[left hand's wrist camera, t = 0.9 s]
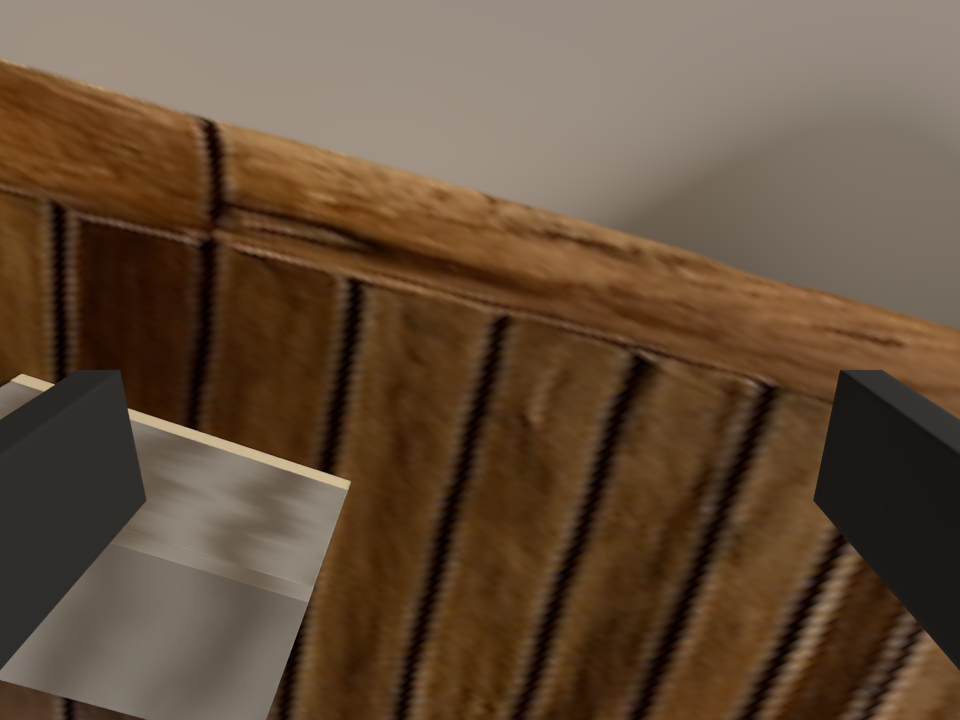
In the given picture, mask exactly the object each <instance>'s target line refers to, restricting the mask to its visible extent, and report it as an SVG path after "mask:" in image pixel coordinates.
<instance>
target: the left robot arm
mask: <svg viewBox="0 0 960 720" xmlns="http://www.w3.org/2000/svg"><path fill="white" fill-rule="evenodd" d="M146 501H147V500H146V495H145V490H144V485H143V480H142V476H141V471H140V466H139V461H138V456H137V451H136V446H135V441H134V437H133V432H132V427H131V422H130V417H129V412H128V407H127V403H126V398H125V393H124V388H123V383H122V378H121V373H120V370H77V371H76V372H74V373H72V374H71V375H69V376H68V377H66V378H65V379H63V380H61V381H60V382H58V383H57V384H55V385H54V386H52V387H51V388H49V389H47V390H46V391H44V392H43V393H41V394H40V395H38V396H36V397H35V398H33V399H32V400H30V401H29V402H27V403H25V404H24V405H22V406H21V407H19V408H18V409H16V410H14V411H13V412H11V413H10V414H8V415H7V416H5V417H4V418H2V419H0V670H1V669H2V668H3V667H4V666H5V664H6V663H7V662H8V661H9V660H10V659H11V657H12V656H13V655H14V654H15V653H16V652H17V650H18V649H19V648H20V647H21V646H22V645H23V644H24V642H25V641H26V640H27V639H28V638H29V637H30V635H31V634H32V633H33V632H34V631H35V630H36V628H37V627H38V626H39V625H40V624H41V623H42V621H43V620H44V619H45V618H46V617H47V616H48V614H49V613H50V612H51V611H52V610H53V609H54V608H55V606H56V605H57V604H58V603H59V602H60V601H61V599H62V598H63V597H64V596H65V595H66V594H67V592H68V591H69V590H70V589H71V588H72V587H73V585H74V584H75V583H76V582H77V581H78V580H79V578H80V577H81V576H82V575H83V574H84V573H85V572H86V570H87V569H88V568H89V567H90V566H91V565H92V563H93V562H94V561H95V560H96V559H97V558H98V556H99V555H100V554H101V553H102V552H103V551H104V549H105V548H106V547H107V546H108V545H109V544H110V542H111V541H112V540H113V539H114V538H115V537H116V536H117V534H118V533H119V532H120V531H121V530H122V529H123V527H124V526H125V525H126V524H127V523H128V522H129V520H130V519H131V518H132V517H133V516H134V515H135V513H136V512H137V511H138V510H139V509H140V508H141V506H142V505H143V504H144V503H145V502H146ZM813 501H814V502H815V503H816V504H817V505H818V506H819V508H820V509H821V510H822V511H823V512H824V513H825V515H826V516H827V517H828V518H829V519H830V520H831V522H832V523H833V524H834V525H835V526H836V527H837V529H838V530H839V531H840V532H841V533H842V534H843V536H844V537H845V538H846V539H847V540H848V541H849V542H850V544H851V545H852V546H853V547H854V548H855V549H856V551H857V552H858V553H859V554H860V555H861V556H862V558H863V559H864V560H865V561H866V562H867V563H868V565H869V566H870V567H871V568H872V569H873V570H874V572H875V573H876V574H877V575H878V576H879V577H880V578H881V580H882V581H883V582H884V583H885V584H886V585H887V587H888V588H889V589H890V590H891V591H892V592H893V594H894V595H895V596H896V597H897V598H898V599H899V601H900V602H901V603H902V604H903V605H904V606H905V608H906V609H907V610H908V611H909V612H910V613H911V614H912V616H913V617H914V618H915V619H916V620H917V621H918V623H919V624H920V625H921V626H922V627H923V628H924V630H925V631H926V632H927V633H928V634H929V635H930V637H931V638H932V639H933V640H934V641H935V642H936V644H937V645H938V646H939V647H940V648H941V649H942V650H943V652H944V653H945V654H946V655H947V656H948V657H949V659H950V660H951V661H952V662H953V663H954V664H955V666H956V667H957V668H958V669H959V670H960V419H958V418H956V417H955V416H953V415H952V414H950V413H949V412H947V411H946V410H944V409H942V408H941V407H939V406H938V405H936V404H935V403H933V402H931V401H930V400H928V399H927V398H925V397H924V396H922V395H920V394H919V393H917V392H916V391H914V390H913V389H911V388H909V387H908V386H906V385H905V384H903V383H902V382H900V381H899V380H897V379H895V378H894V377H892V376H891V375H889V374H888V373H886V372H884V371H883V370H840V373H839V378H838V383H837V388H836V393H835V398H834V403H833V407H832V412H831V417H830V422H829V427H828V432H827V437H826V441H825V446H824V451H823V456H822V461H821V466H820V471H819V476H818V480H817V485H816V490H815V495H814V500H813Z"/></svg>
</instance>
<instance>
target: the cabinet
mask: <svg viewBox="0 0 960 720" xmlns="http://www.w3.org/2000/svg"><path fill="white" fill-rule="evenodd" d="M54 385H55V384H52V383H49V382H46V381H42V380H39V379H36V378H33V377H30V376H27V375H24V374H21V375H19V376H17V377H16V378H14V379H12V380H11V381H10V382H9V383H7V384H5V385H3V386H2V387H0V419H2V418H4V417H5V416H7V415H8V414H10V413H11V412H13V411H14V410H16V409H18V408H19V407H21V406H22V405H24V404H25V403H27V402H29V401H30V400H32V399H33V398H35V397H36V396H38V395H40V394H41V393H43V392H44V391H46V390H47V389H49V388H51V387H52V386H54ZM128 412H129V417H130V422H131V427H132V432H133V437H134V441H135V446H136V451H137V456H138V461H139V466H140V471H141V476H142V480H143V485H144V490H145V495H146V500H147V501H146V502H145V503H144V504H143V505H142V506H141V508H140V509H139V510H138V511H137V512H136V513H135V515H134V516H133V517H132V518H131V519H130V520H129V522H128V523H127V524H126V525H125V526H124V527H123V529H122V530H121V531H120V532H119V533H118V534H117V536H116V537H115V538H114V539H113V540H112V541H111V542H110V544H109V545H108V546H107V547H106V548H105V549H104V551H103V552H102V553H101V554H100V555H99V556H98V558H97V559H96V560H95V561H94V562H93V563H92V565H91V566H90V567H89V568H88V569H87V570H86V572H85V573H84V574H83V575H82V576H81V577H80V578H79V580H78V581H77V582H76V583H75V584H74V585H73V587H72V588H71V589H70V590H69V591H68V592H67V594H66V595H65V596H64V597H63V598H62V599H61V601H60V602H59V603H58V604H57V605H56V606H55V608H54V609H53V610H52V611H51V612H50V613H49V614H48V616H47V617H46V618H45V619H44V620H43V621H42V623H41V624H40V625H39V626H38V627H37V628H36V630H35V631H34V632H33V633H32V634H31V635H30V637H29V638H28V639H27V640H26V641H25V642H24V644H23V645H22V646H21V647H20V648H19V649H18V650H17V652H16V653H15V654H14V655H13V656H12V657H11V659H10V660H9V661H8V662H7V663H6V664H5V666H4V667H3V668H2V669H1V670H0V680H2V681H6V682H10V683H14V684H17V685H21V686H25V687H29V688H32V689H36V690H40V691H43V692H47V693H51V694H55V695H58V696H62V697H66V698H69V699H73V700H77V701H81V702H84V703H88V704H92V705H95V706H99V707H103V708H107V709H110V710H114V711H118V712H122V713H125V714H129V715H133V716H136V717H140V718H144V719H148V720H266V718H267V715H268V712H269V709H270V707H271V704H272V701H273V698H274V696H275V693H276V690H277V687H278V685H279V682H280V679H281V676H282V674H283V671H284V668H285V665H286V663H287V660H288V657H289V654H290V652H291V649H292V646H293V643H294V641H295V638H296V635H297V632H298V630H299V627H300V624H301V621H302V619H303V616H304V613H305V610H306V607H307V605H308V602H309V599H310V596H311V593H312V591H313V588H314V585H315V582H316V579H317V576H318V574H319V571H320V568H321V565H322V562H323V559H324V556H325V554H326V551H327V548H328V545H329V542H330V539H331V537H332V534H333V531H334V528H335V525H336V522H337V520H338V517H339V514H340V511H341V508H342V505H343V503H344V500H345V497H346V494H347V492H348V489H349V486H350V483H351V481H348V480H345V479H342V478H339V477H336V476H333V475H330V474H327V473H324V472H321V471H318V470H315V469H312V468H309V467H305V466H302V465H299V464H296V463H293V462H290V461H287V460H284V459H281V458H278V457H275V456H272V455H269V454H266V453H263V452H260V451H257V450H253V449H250V448H247V447H244V446H241V445H238V444H235V443H232V442H229V441H226V440H223V439H220V438H217V437H214V436H211V435H208V434H205V433H201V432H198V431H195V430H192V429H189V428H186V427H183V426H180V425H177V424H174V423H171V422H168V421H165V420H162V419H159V418H156V417H153V416H150V415H146V414H143V413H140V412H137V411H134V410H131V409H128Z"/></svg>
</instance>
